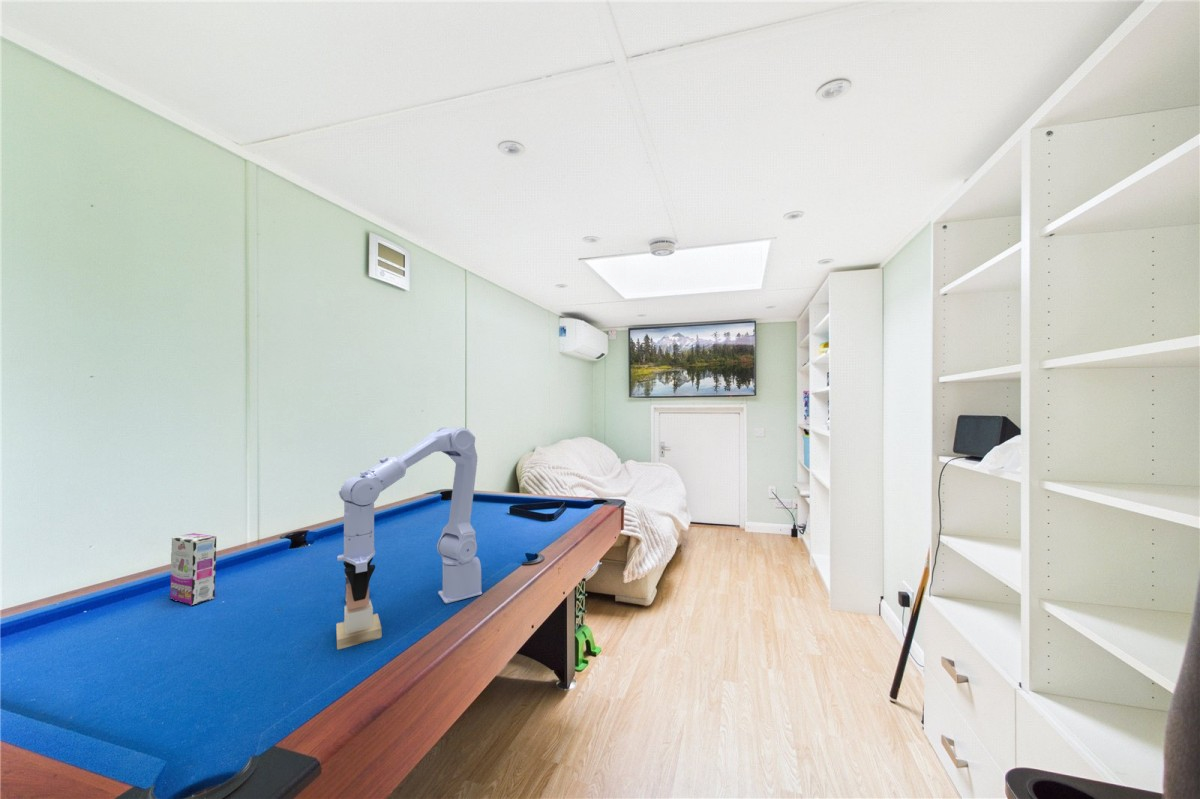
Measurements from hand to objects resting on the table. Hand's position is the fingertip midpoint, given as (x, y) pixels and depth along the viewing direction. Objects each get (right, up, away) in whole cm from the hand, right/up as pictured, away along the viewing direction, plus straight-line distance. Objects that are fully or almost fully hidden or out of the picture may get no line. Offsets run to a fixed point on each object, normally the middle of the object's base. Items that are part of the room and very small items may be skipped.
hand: (358, 595), depth 90 cm
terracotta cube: (0, -2, 0) cm, 2 cm away
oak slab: (0, -8, 0) cm, 8 cm away
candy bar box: (-55, -10, +19) cm, 59 cm away
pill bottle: (-11, -10, +18) cm, 23 cm away
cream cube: (0, -6, 0) cm, 6 cm away
